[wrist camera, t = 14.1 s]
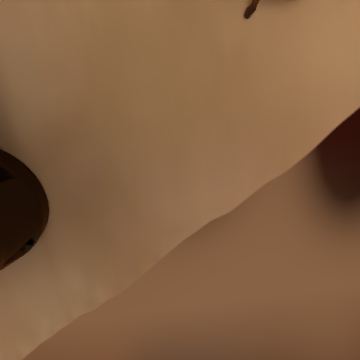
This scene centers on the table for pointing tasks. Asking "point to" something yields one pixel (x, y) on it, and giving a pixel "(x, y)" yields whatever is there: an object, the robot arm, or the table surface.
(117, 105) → the table surface
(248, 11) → the lion figurine
